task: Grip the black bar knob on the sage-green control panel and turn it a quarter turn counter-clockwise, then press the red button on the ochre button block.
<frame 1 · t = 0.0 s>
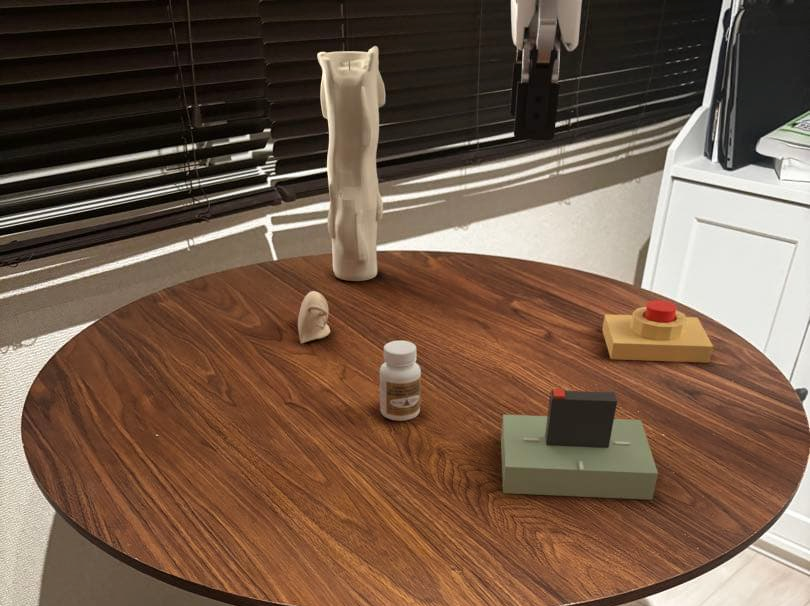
hand: (530, 126, 69), 29 cm above the table, tool pointing down, fingers open, 9 cm apart
pill bottle: (400, 413, 90), on the table
vase: (356, 277, 123), on the table
decorative ornament: (313, 335, 106), on the table
button: (660, 312, 101), point 4 cm above the table, slide at 0.1 cm
button block: (653, 345, 104), on the table
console: (572, 468, 81), on the table
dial: (580, 417, 77), point 6 cm above the table, hinge at 0.0°
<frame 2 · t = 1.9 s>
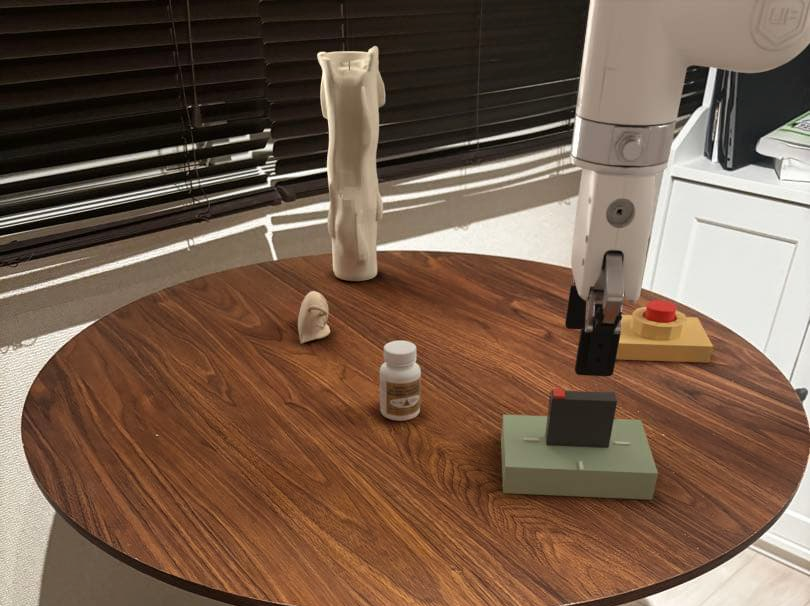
hand: (587, 350, 73), 13 cm above the table, tool pointing down, fingers open, 9 cm apart
nothing on the table moved.
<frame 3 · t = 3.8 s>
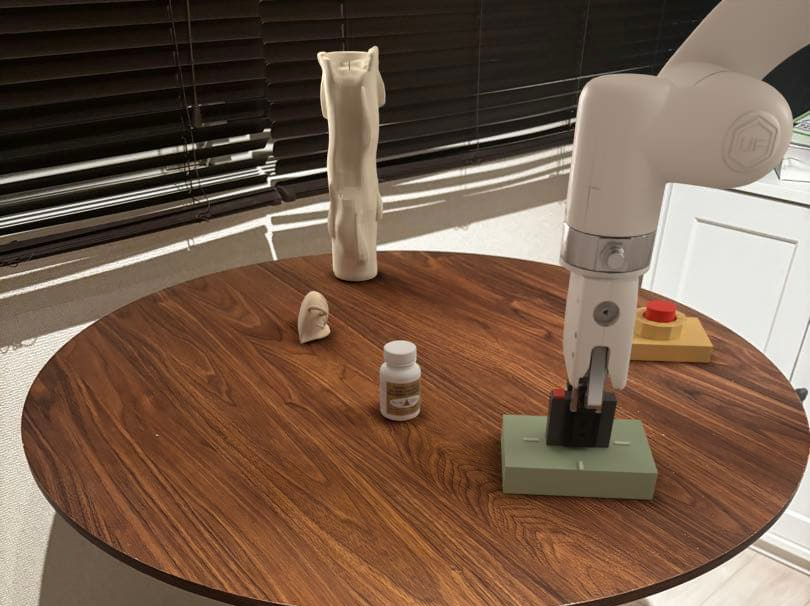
hand: (577, 437, 78), 4 cm above the table, tool pointing down, fingers closed on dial, 2 cm apart
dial: (580, 417, 77), point 6 cm above the table, hinge at 0.0°, touching gripper
everything else where it was.
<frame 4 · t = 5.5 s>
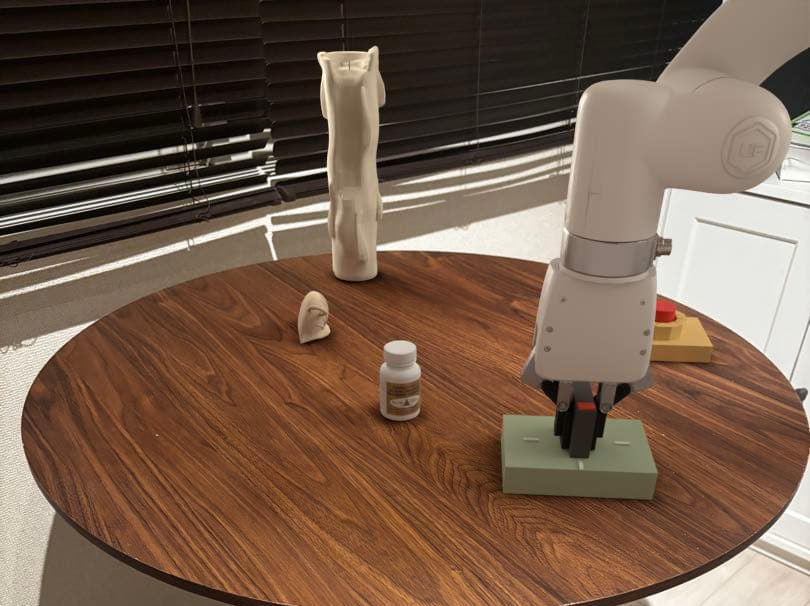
hand: (576, 440, 79), 3 cm above the table, tool pointing down, fingers closed on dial, 2 cm apart
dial: (580, 417, 77), point 6 cm above the table, hinge at 89.9°, touching gripper
everything else where it was.
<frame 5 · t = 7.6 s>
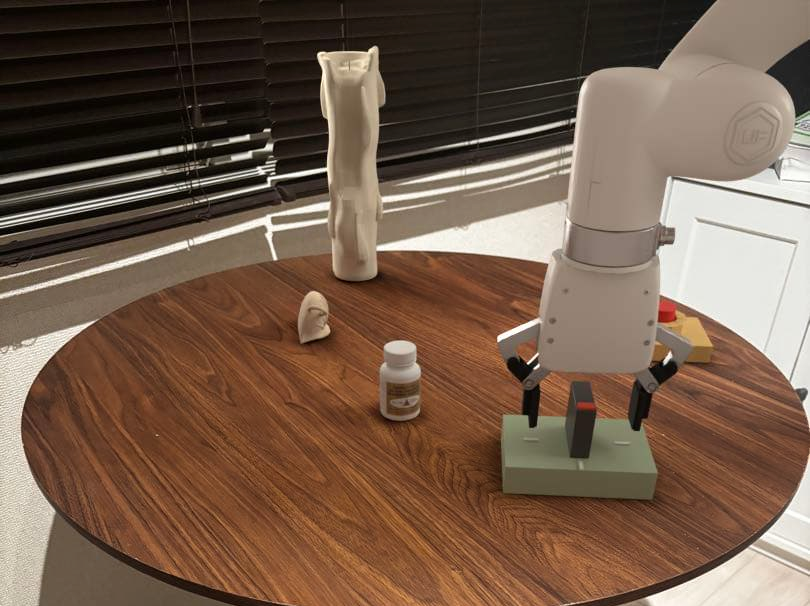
hand: (582, 422, 77), 5 cm above the table, tool pointing down, fingers open, 9 cm apart
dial: (580, 417, 77), point 6 cm above the table, hinge at 89.9°
everything else where it was.
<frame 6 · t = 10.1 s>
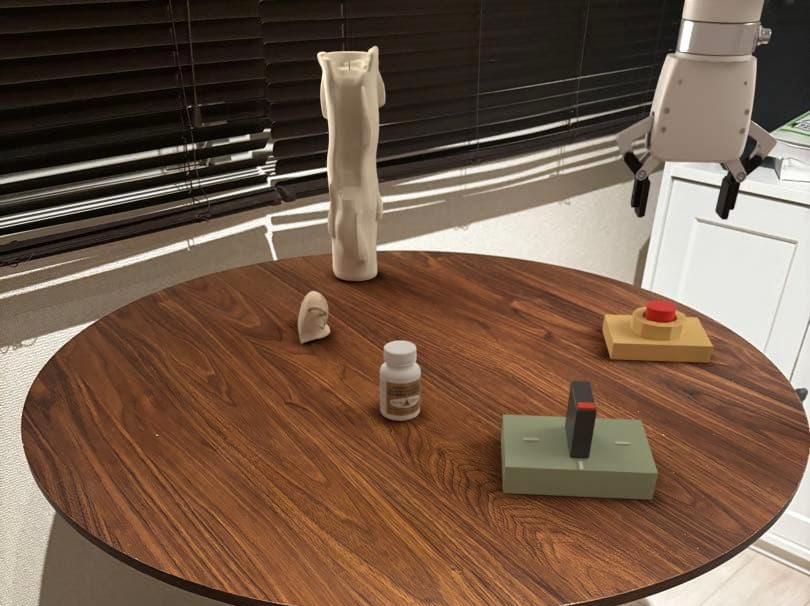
hand: (679, 214, 93), 16 cm above the table, tool pointing down, fingers open, 9 cm apart
nothing on the table moved.
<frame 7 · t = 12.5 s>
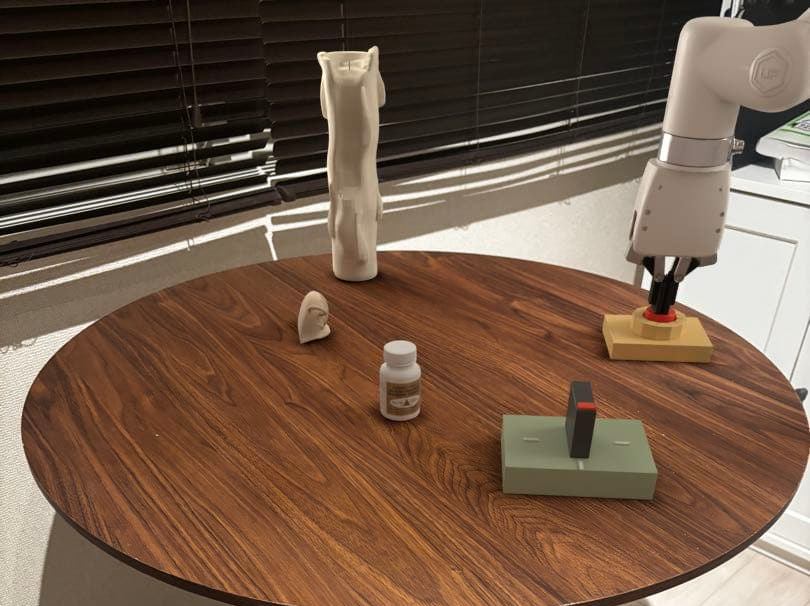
hand: (659, 309, 101), 5 cm above the table, tool pointing down, fingers closed
button: (659, 317, 101), point 4 cm above the table, slide at -0.5 cm, touching gripper
everything else where it was.
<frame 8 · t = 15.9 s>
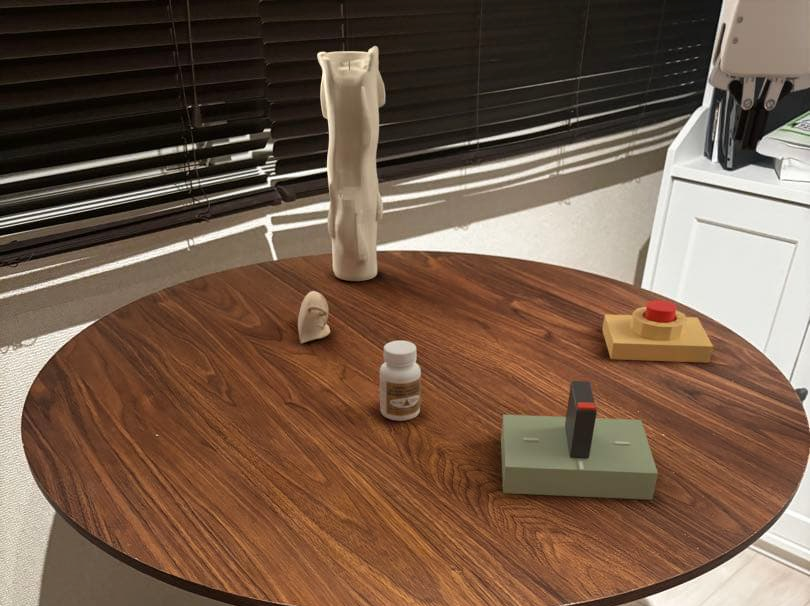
hand: (744, 147, 91), 23 cm above the table, tool pointing down, fingers closed
button: (660, 312, 101), point 4 cm above the table, slide at 0.1 cm
everything else where it was.
at the end: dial at +90° (first picture: +0°); button pushed in 1.1 cm at the most during the clip, back to where it started at the end; button slide at 0.1 cm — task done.
